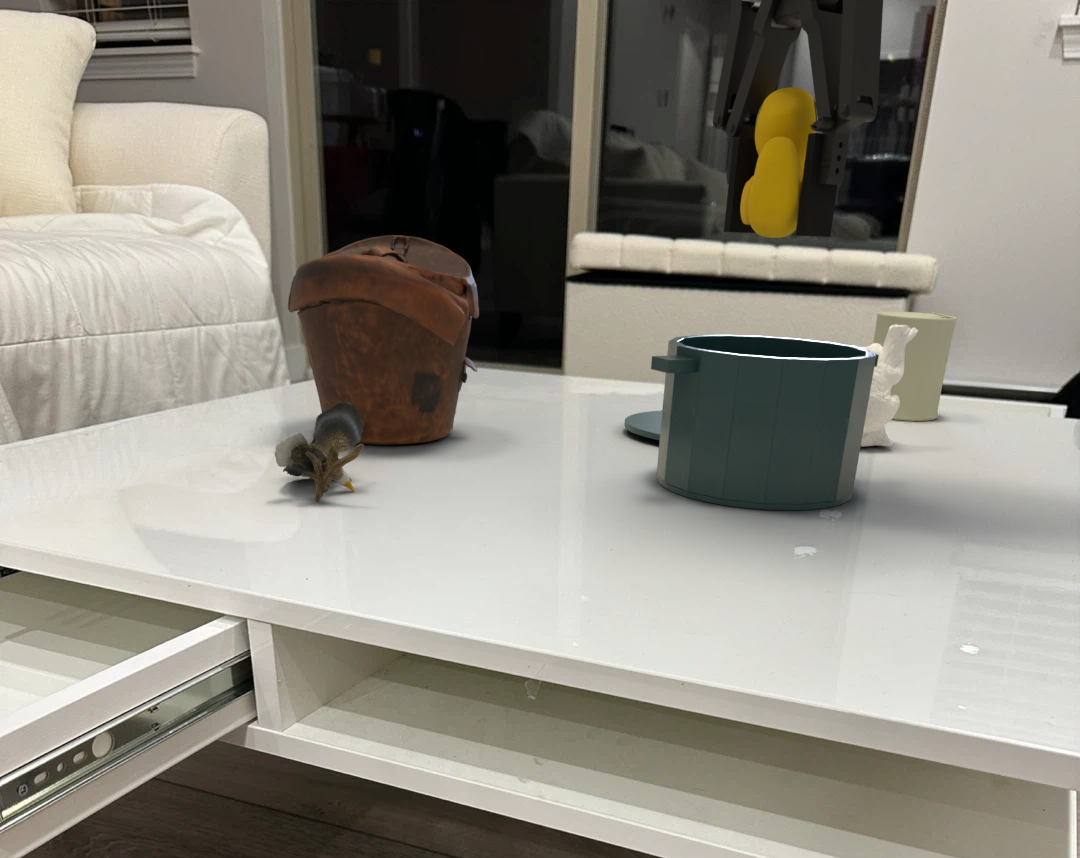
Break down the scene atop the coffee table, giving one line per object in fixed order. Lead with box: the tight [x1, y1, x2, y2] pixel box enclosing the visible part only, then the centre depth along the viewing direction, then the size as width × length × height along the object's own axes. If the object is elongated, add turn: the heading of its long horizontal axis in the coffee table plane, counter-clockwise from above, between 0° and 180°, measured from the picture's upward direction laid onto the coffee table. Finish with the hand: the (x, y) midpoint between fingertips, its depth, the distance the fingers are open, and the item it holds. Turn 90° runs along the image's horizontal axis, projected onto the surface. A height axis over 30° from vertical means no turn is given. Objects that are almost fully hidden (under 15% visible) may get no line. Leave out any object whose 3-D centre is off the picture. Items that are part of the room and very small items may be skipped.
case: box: [287, 234, 480, 446], centre depth 101 cm, size 18×20×18 cm
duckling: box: [740, 86, 818, 239], centre depth 79 cm, size 11×5×10 cm, turn 165°
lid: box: [623, 410, 662, 442], centre depth 110 cm, size 18×18×4 cm
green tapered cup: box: [872, 310, 958, 422], centre depth 127 cm, size 9×9×12 cm
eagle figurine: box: [274, 401, 365, 503], centre depth 82 cm, size 8×7×9 cm
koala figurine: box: [850, 325, 919, 448], centre depth 108 cm, size 8×7×12 cm
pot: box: [650, 334, 879, 511], centre depth 89 cm, size 17×22×12 cm
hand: (775, 233), depth 80 cm, fingers closed on duckling, 8 cm apart
